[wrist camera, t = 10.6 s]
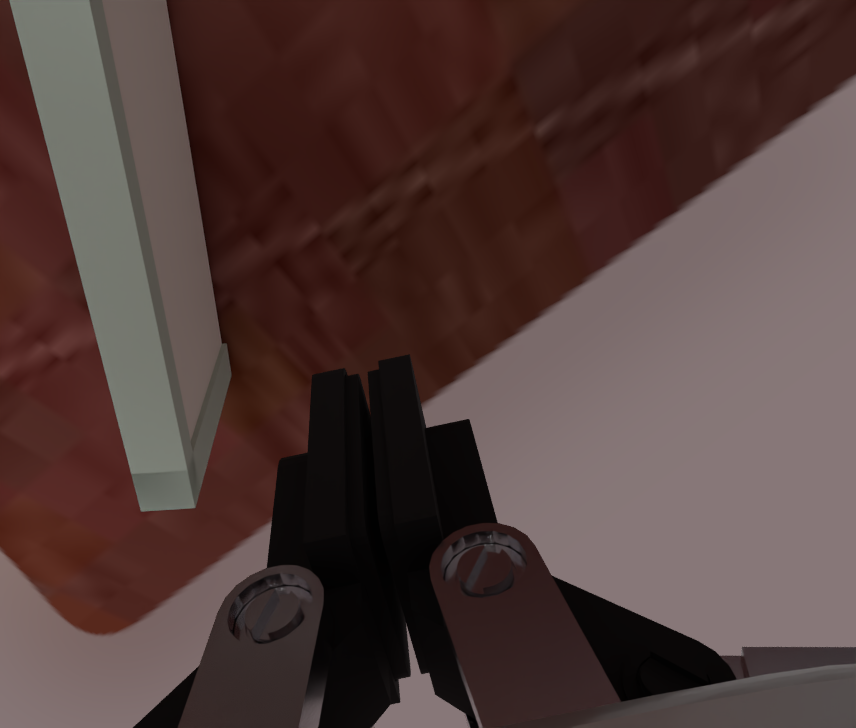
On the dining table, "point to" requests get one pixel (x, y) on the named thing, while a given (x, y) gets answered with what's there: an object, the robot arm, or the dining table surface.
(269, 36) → the dining table surface
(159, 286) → the bar
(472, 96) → the dining table surface
